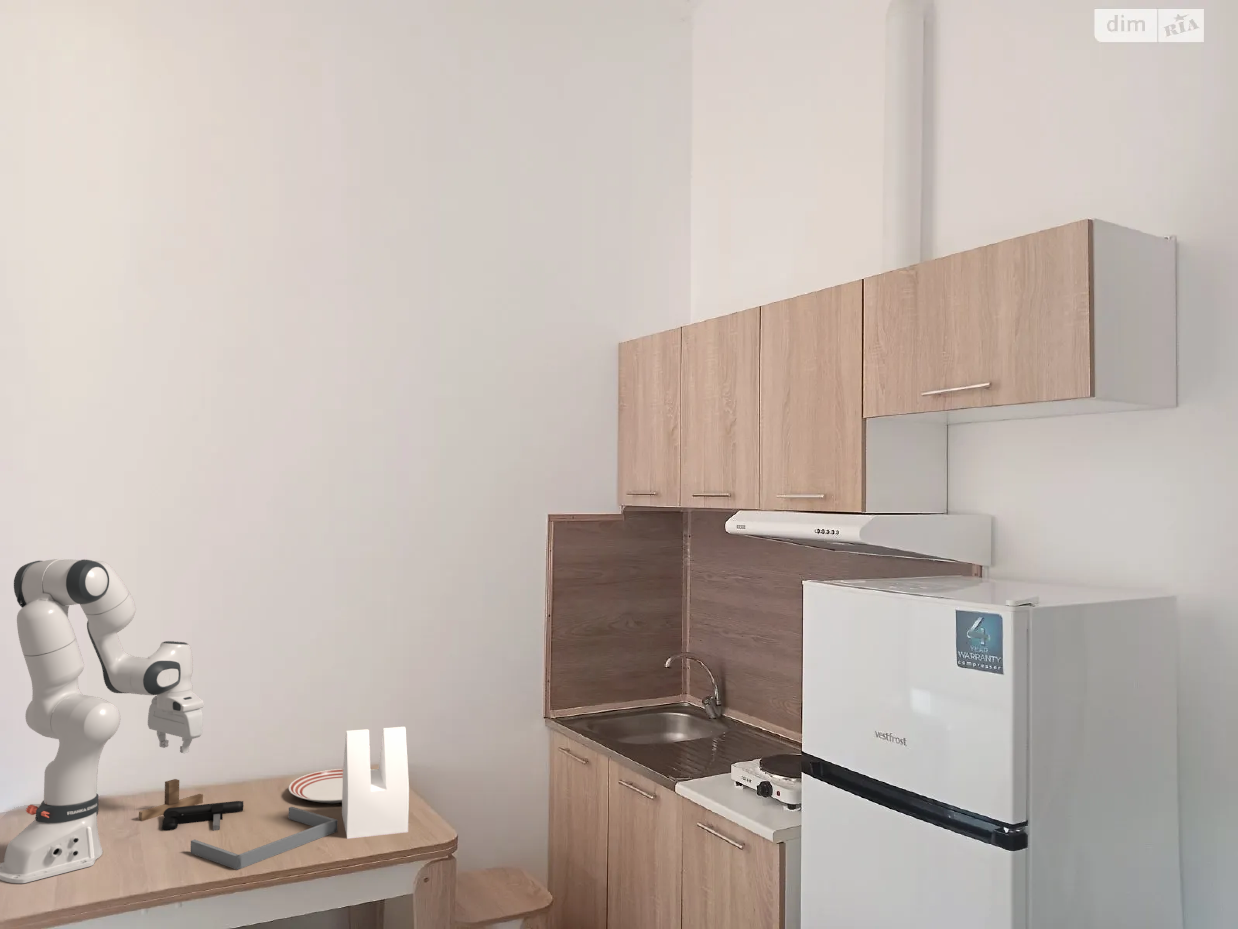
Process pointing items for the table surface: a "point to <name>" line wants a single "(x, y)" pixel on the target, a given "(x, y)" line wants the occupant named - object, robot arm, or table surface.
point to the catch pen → (235, 861)
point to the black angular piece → (199, 814)
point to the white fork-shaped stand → (375, 785)
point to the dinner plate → (319, 786)
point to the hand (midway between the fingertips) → (174, 749)
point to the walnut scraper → (170, 801)
